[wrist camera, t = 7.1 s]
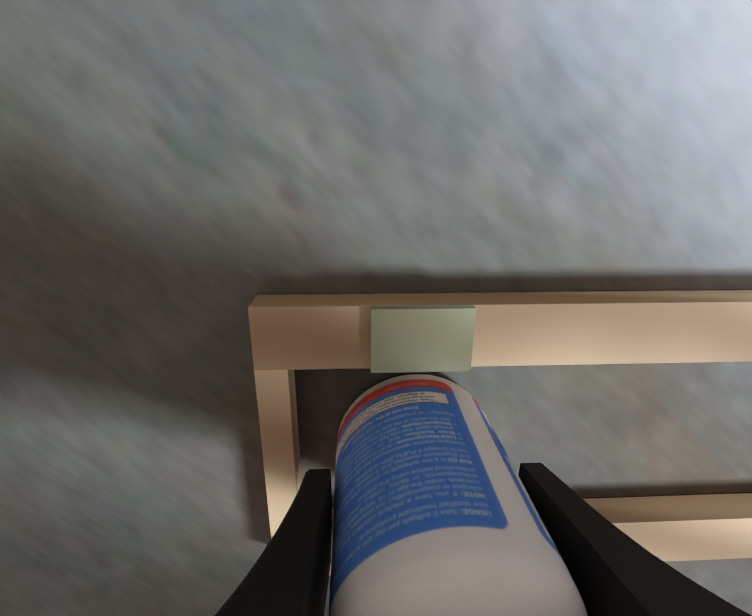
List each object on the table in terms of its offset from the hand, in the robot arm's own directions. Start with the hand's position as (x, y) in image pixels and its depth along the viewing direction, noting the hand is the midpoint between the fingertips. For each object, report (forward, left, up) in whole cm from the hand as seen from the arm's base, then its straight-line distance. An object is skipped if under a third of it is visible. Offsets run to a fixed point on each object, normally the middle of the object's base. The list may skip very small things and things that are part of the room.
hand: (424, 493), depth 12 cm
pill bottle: (0, 0, -3) cm, 3 cm away
